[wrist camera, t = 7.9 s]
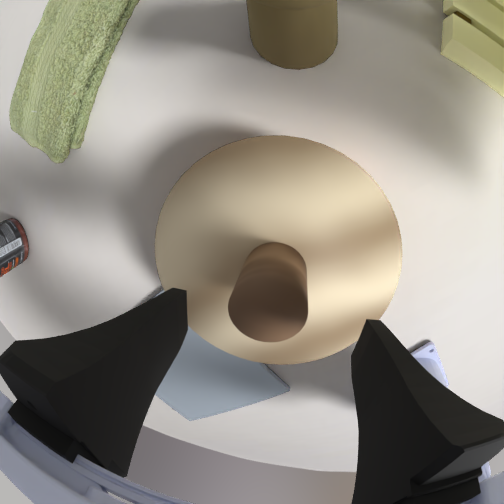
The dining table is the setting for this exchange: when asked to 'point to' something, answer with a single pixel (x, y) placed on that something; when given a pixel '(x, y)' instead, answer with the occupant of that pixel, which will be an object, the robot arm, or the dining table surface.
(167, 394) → the slate mat
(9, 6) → the dining table surface
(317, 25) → the cork
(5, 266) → the supplement bottle
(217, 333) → the birch lid
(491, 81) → the slatted curved stool
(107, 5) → the washcloth
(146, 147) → the dining table surface
